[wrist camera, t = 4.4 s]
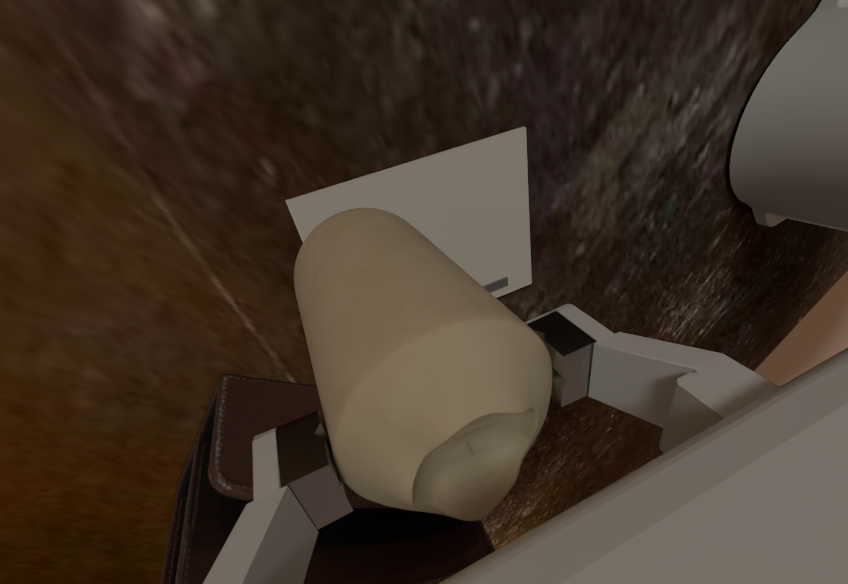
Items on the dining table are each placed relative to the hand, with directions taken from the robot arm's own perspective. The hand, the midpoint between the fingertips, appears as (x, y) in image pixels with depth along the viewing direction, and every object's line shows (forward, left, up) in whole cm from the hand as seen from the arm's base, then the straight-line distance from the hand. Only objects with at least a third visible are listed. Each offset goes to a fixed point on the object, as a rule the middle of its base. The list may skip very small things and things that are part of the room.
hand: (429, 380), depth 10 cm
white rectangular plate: (-5, +4, -14) cm, 15 cm away
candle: (0, 0, -7) cm, 7 cm away
